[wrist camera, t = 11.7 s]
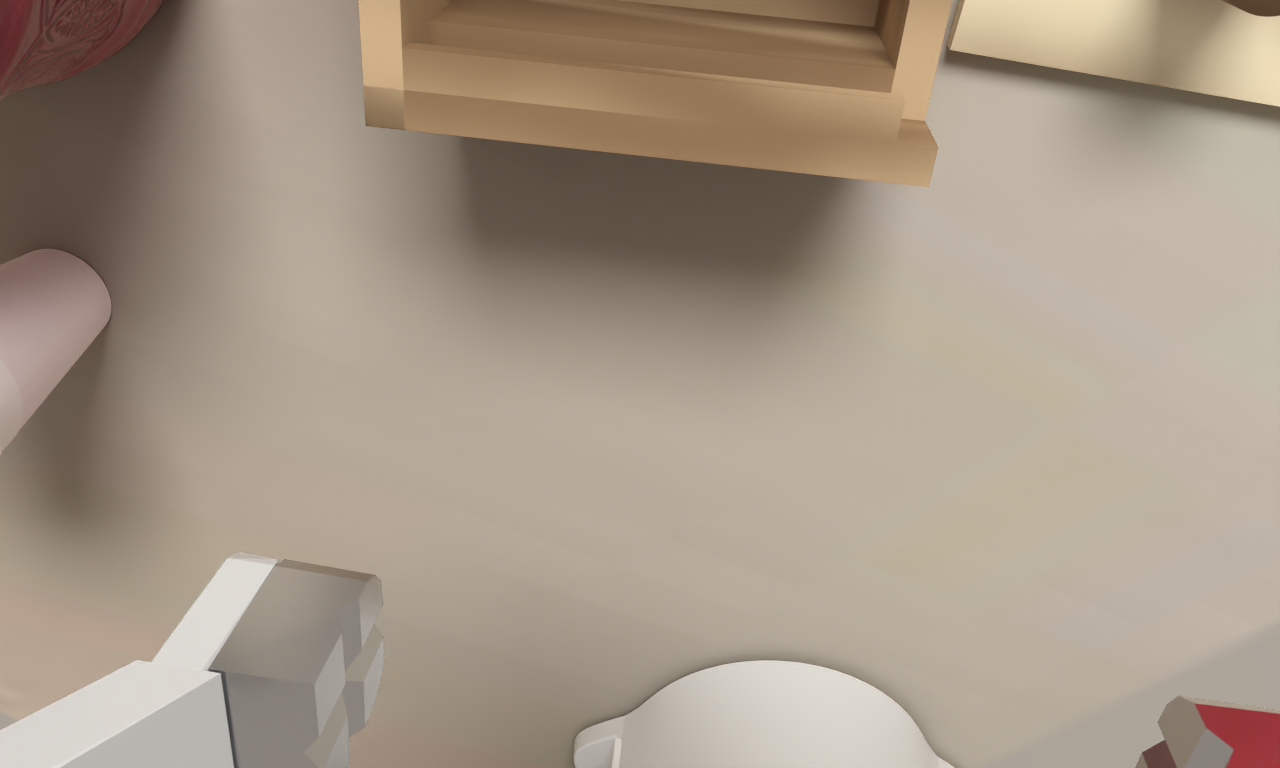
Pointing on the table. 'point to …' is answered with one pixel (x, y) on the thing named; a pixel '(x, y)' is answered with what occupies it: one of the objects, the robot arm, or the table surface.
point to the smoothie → (43, 328)
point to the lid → (1135, 41)
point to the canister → (63, 37)
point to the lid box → (668, 78)
